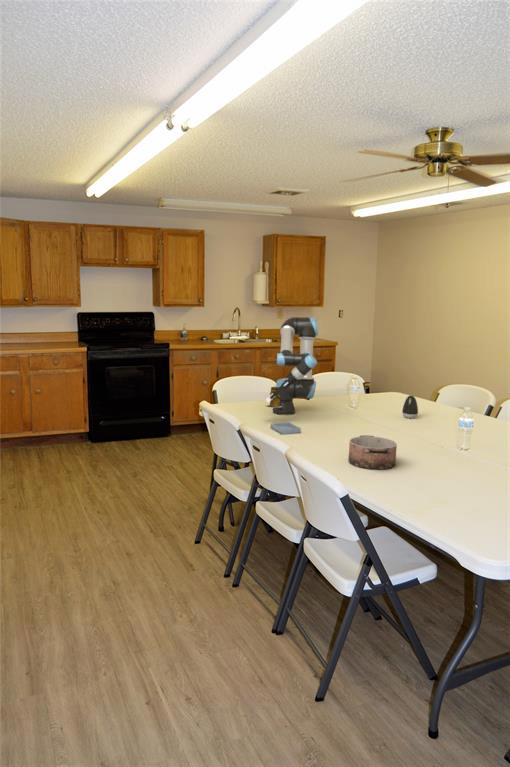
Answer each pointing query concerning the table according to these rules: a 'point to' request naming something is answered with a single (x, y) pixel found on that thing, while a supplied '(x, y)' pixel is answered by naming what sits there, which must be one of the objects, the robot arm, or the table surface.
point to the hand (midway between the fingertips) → (268, 400)
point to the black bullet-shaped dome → (410, 407)
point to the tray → (285, 428)
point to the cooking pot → (372, 452)
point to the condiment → (274, 399)
